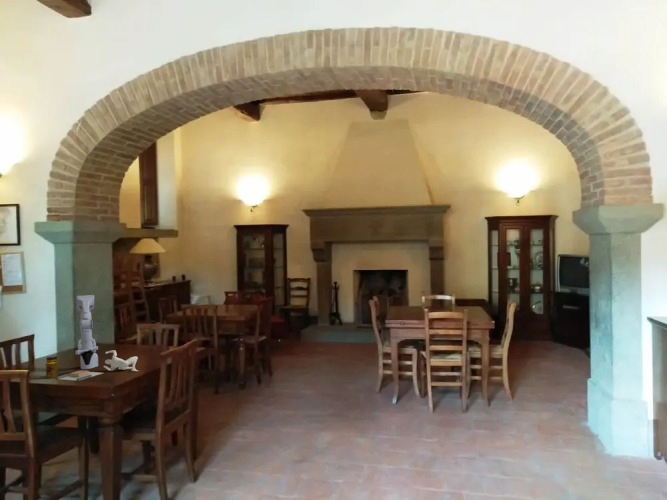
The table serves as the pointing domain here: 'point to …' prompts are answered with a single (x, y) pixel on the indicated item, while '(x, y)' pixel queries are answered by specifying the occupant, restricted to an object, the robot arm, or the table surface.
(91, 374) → the board
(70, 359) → the table surface
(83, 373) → the tile
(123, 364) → the person figurine
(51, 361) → the condiment
